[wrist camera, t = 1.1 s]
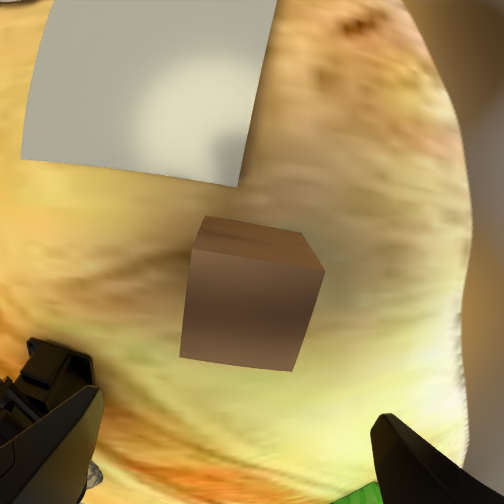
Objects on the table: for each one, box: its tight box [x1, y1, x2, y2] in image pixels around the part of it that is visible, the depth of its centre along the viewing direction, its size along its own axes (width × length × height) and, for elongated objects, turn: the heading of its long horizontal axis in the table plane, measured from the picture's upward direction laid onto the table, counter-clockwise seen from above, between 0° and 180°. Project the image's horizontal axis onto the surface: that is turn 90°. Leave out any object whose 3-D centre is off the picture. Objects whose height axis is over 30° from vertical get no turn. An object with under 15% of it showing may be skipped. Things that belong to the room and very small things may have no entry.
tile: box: [20, 0, 277, 187], centre depth 14 cm, size 13×13×3 cm
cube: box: [179, 216, 325, 372], centre depth 18 cm, size 6×6×6 cm
